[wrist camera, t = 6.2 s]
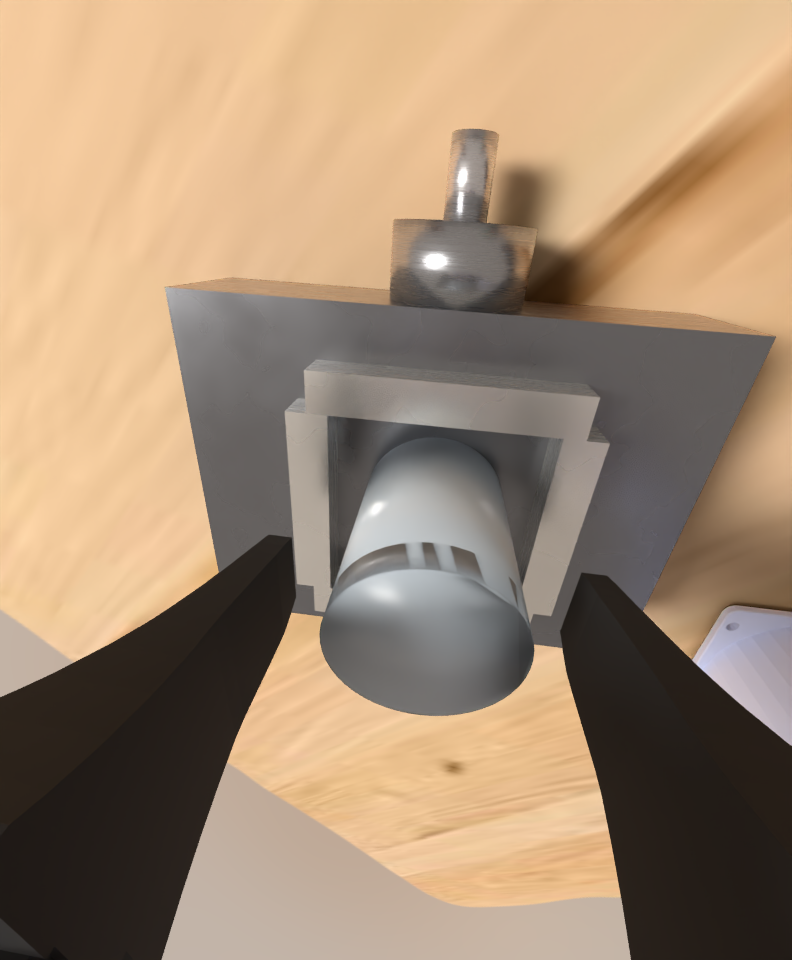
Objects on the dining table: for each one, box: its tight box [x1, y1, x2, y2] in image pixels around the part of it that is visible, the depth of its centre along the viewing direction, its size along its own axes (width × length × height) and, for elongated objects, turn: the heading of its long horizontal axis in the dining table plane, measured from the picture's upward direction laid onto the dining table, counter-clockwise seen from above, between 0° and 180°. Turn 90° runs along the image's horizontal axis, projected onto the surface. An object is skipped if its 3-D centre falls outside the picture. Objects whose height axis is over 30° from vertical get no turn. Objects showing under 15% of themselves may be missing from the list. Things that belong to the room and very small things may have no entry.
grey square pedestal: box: [165, 129, 776, 648], centre depth 14 cm, size 16×16×5 cm
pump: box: [320, 437, 534, 716], centre depth 11 cm, size 4×4×6 cm
